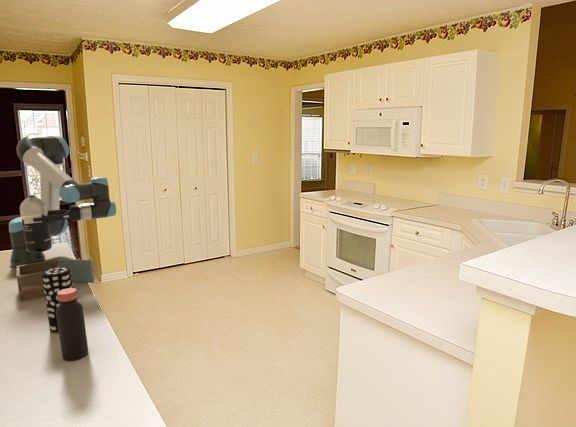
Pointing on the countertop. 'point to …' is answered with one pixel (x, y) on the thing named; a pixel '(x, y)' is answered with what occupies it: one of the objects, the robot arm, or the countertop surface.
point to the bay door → (79, 269)
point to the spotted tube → (55, 291)
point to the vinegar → (71, 325)
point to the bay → (32, 279)
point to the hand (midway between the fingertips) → (23, 218)
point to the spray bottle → (35, 225)
